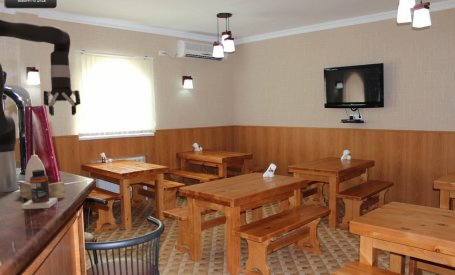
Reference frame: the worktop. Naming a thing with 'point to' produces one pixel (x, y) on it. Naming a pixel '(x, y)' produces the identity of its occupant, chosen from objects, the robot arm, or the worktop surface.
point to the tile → (39, 204)
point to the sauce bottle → (33, 166)
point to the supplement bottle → (39, 186)
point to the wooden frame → (54, 190)
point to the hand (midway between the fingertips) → (63, 115)
